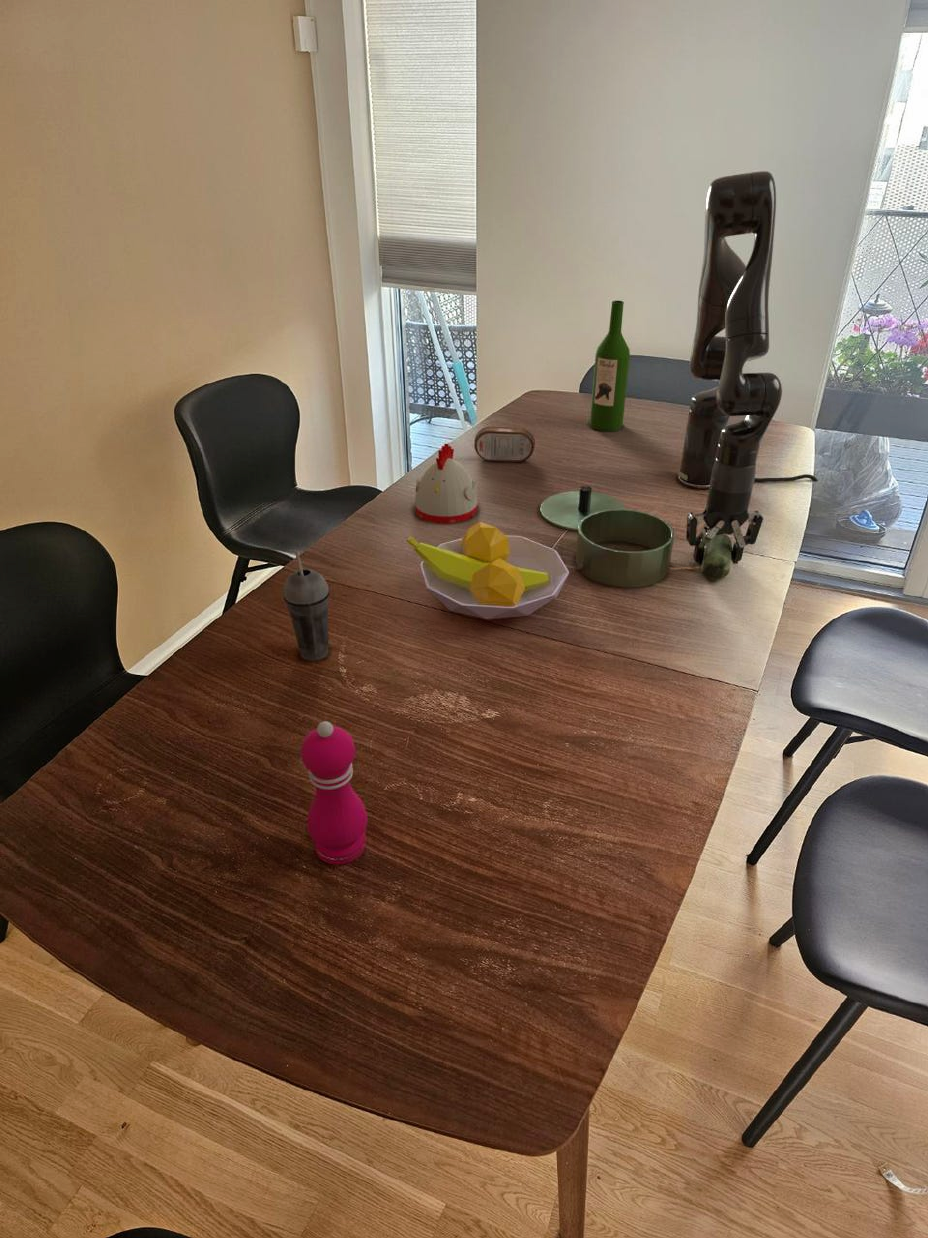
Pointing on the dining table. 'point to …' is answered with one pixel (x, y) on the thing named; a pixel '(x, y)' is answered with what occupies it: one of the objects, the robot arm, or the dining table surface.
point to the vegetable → (717, 557)
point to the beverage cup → (308, 611)
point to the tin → (504, 444)
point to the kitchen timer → (445, 491)
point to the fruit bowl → (491, 573)
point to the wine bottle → (610, 376)
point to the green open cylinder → (623, 564)
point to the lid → (576, 507)
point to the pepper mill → (333, 795)
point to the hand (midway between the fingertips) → (716, 562)
